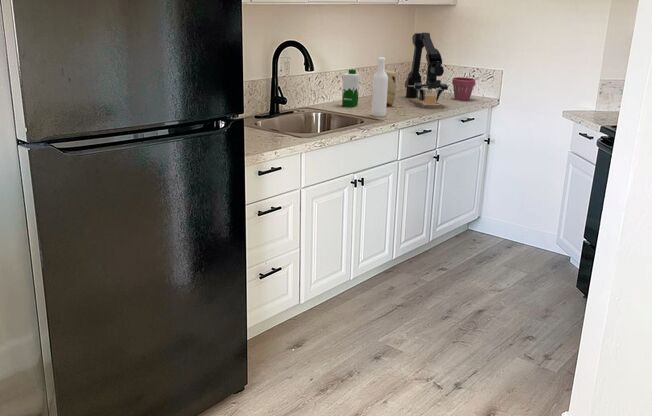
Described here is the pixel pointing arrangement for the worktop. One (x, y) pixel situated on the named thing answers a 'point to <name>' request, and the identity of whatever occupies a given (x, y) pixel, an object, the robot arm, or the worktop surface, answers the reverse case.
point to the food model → (391, 87)
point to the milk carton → (350, 89)
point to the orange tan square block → (429, 99)
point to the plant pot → (463, 88)
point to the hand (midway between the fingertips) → (429, 101)
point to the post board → (421, 103)
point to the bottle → (379, 90)
